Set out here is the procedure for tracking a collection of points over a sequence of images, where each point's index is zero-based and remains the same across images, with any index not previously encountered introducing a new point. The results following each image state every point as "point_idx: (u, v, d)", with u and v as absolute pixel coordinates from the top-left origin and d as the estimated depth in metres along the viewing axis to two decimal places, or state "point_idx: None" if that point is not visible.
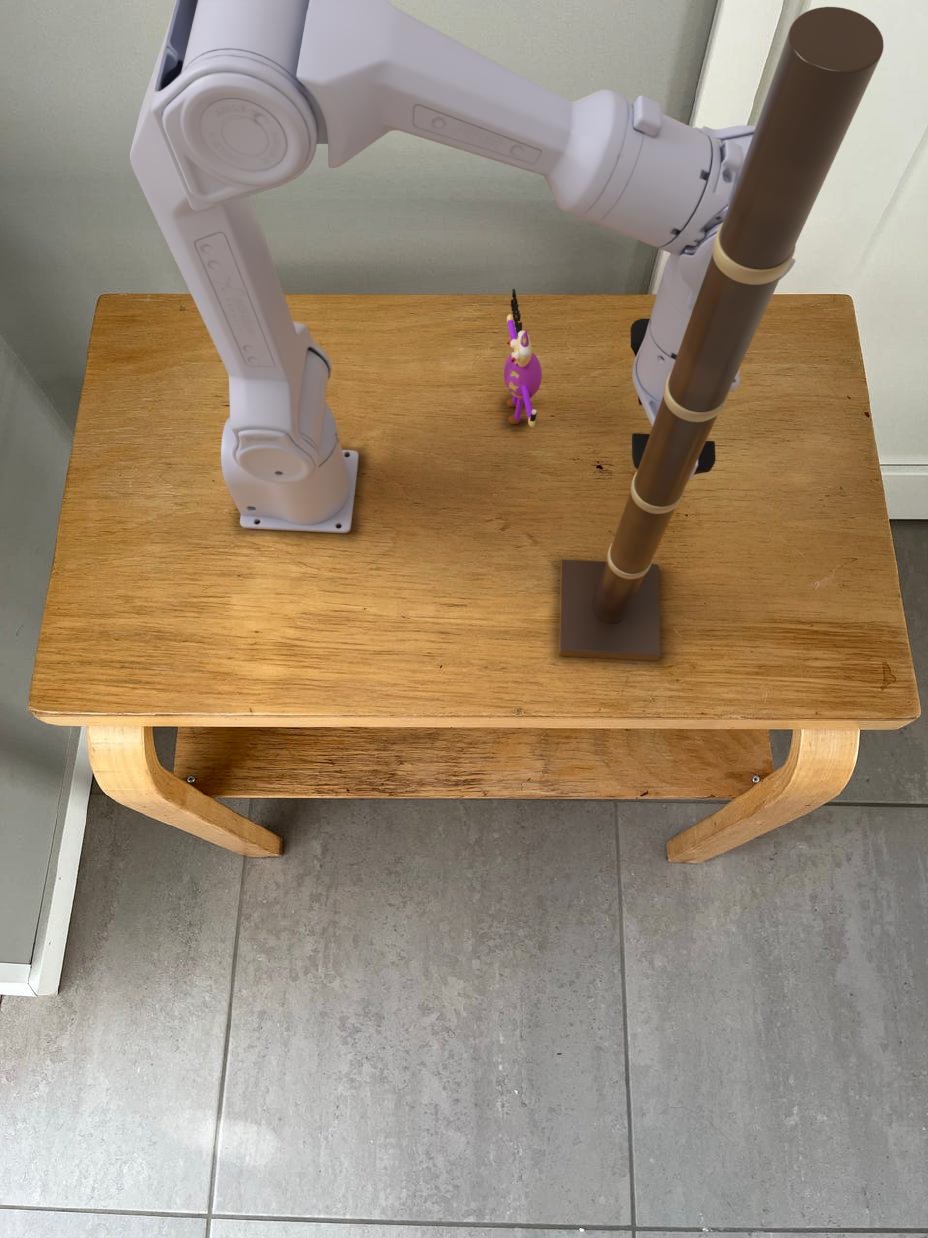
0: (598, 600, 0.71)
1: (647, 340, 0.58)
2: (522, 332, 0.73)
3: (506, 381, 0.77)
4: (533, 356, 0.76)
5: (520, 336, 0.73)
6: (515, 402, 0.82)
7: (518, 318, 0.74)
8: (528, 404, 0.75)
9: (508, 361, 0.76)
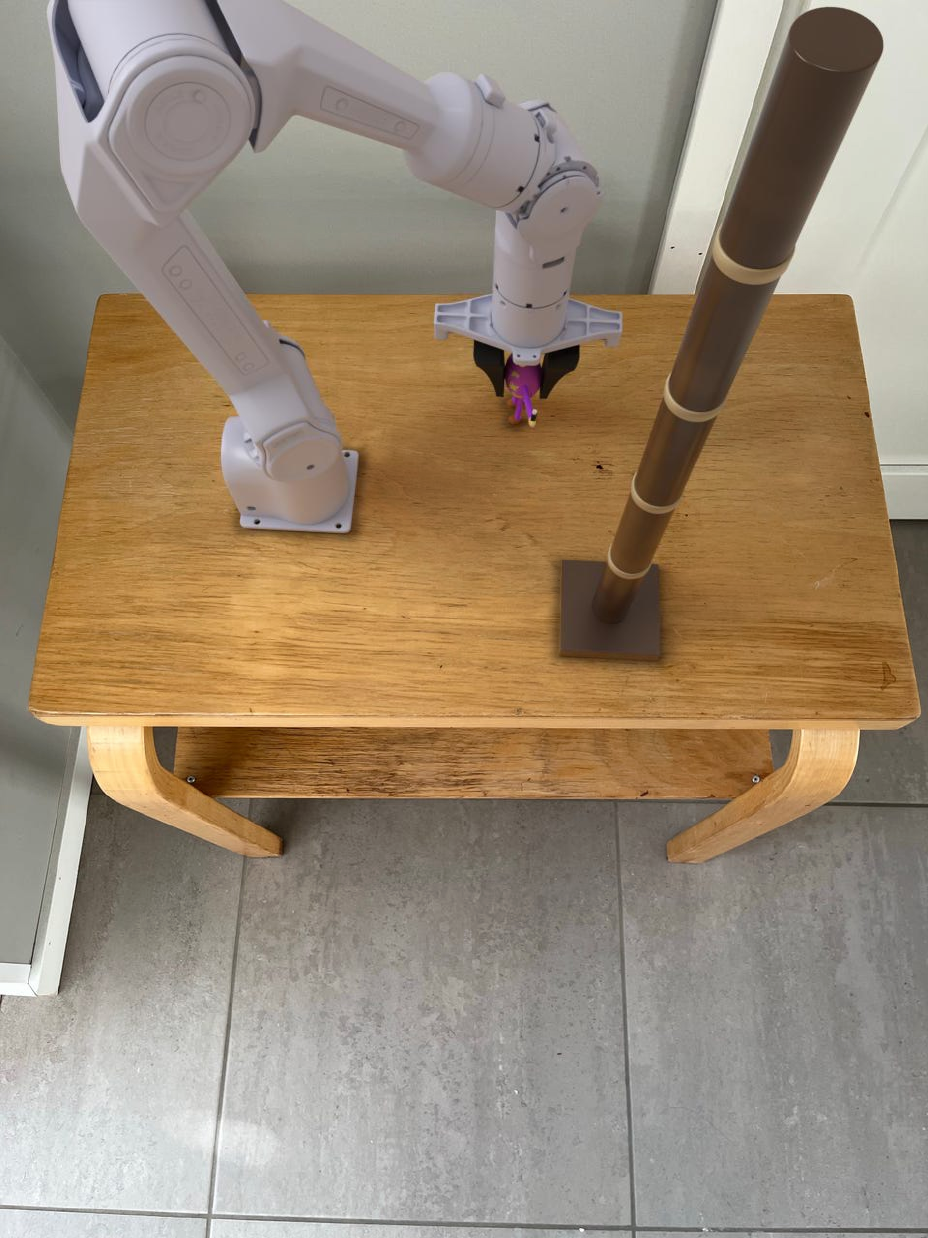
0: (598, 600, 0.71)
1: None
2: None
3: (506, 381, 0.77)
4: None
5: None
6: (515, 402, 0.82)
7: None
8: (528, 404, 0.75)
9: (509, 361, 0.76)
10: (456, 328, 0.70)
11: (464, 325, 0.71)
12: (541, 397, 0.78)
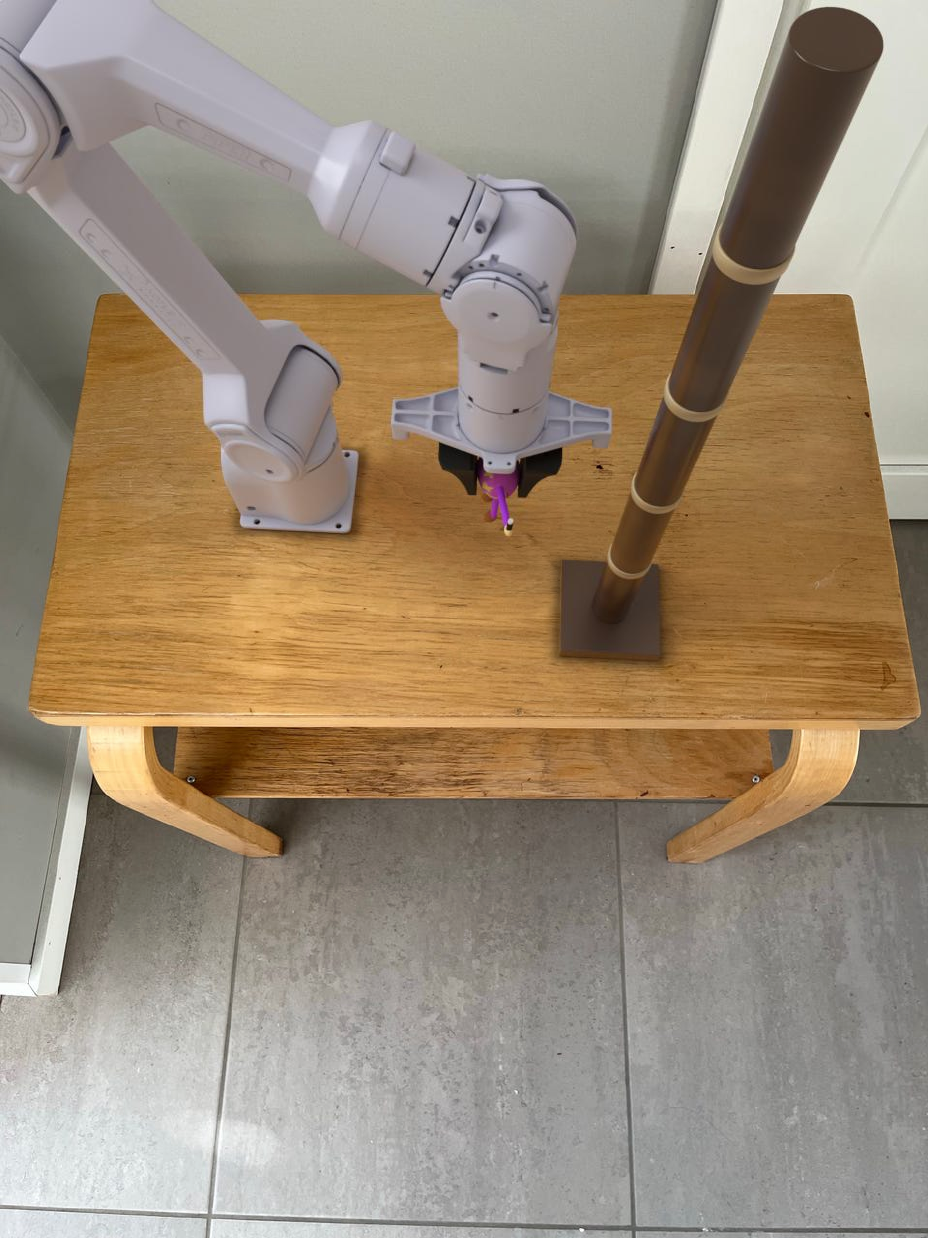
0: (598, 600, 0.71)
1: None
2: None
3: (479, 480, 0.66)
4: None
5: None
6: (491, 497, 0.72)
7: None
8: (504, 509, 0.65)
9: (481, 458, 0.66)
10: (417, 429, 0.60)
11: (427, 425, 0.60)
12: (520, 496, 0.68)
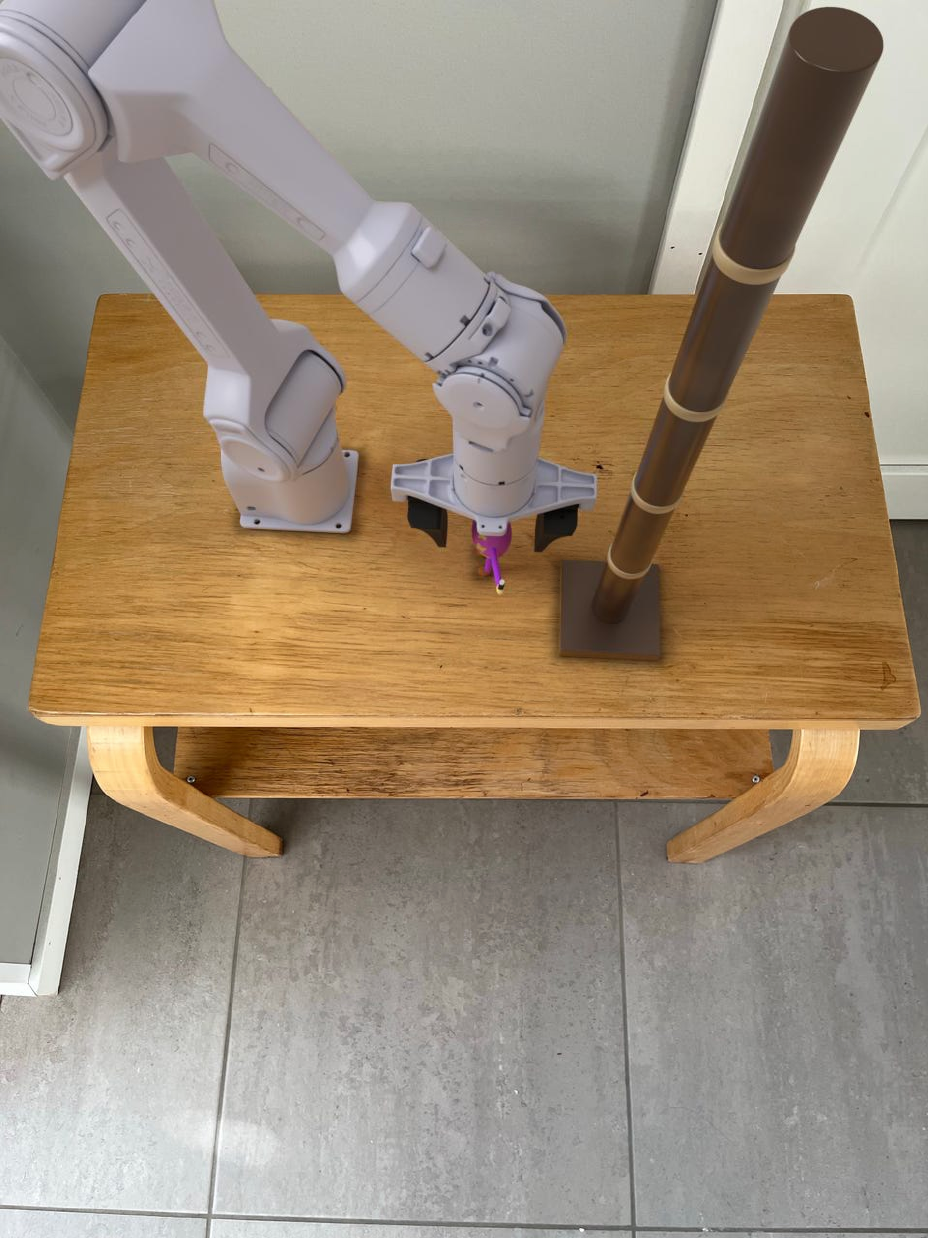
0: (598, 600, 0.71)
1: None
2: None
3: (473, 541, 0.72)
4: None
5: None
6: None
7: None
8: (496, 570, 0.70)
9: (475, 521, 0.71)
10: (415, 493, 0.64)
11: (424, 489, 0.65)
12: (536, 551, 0.72)
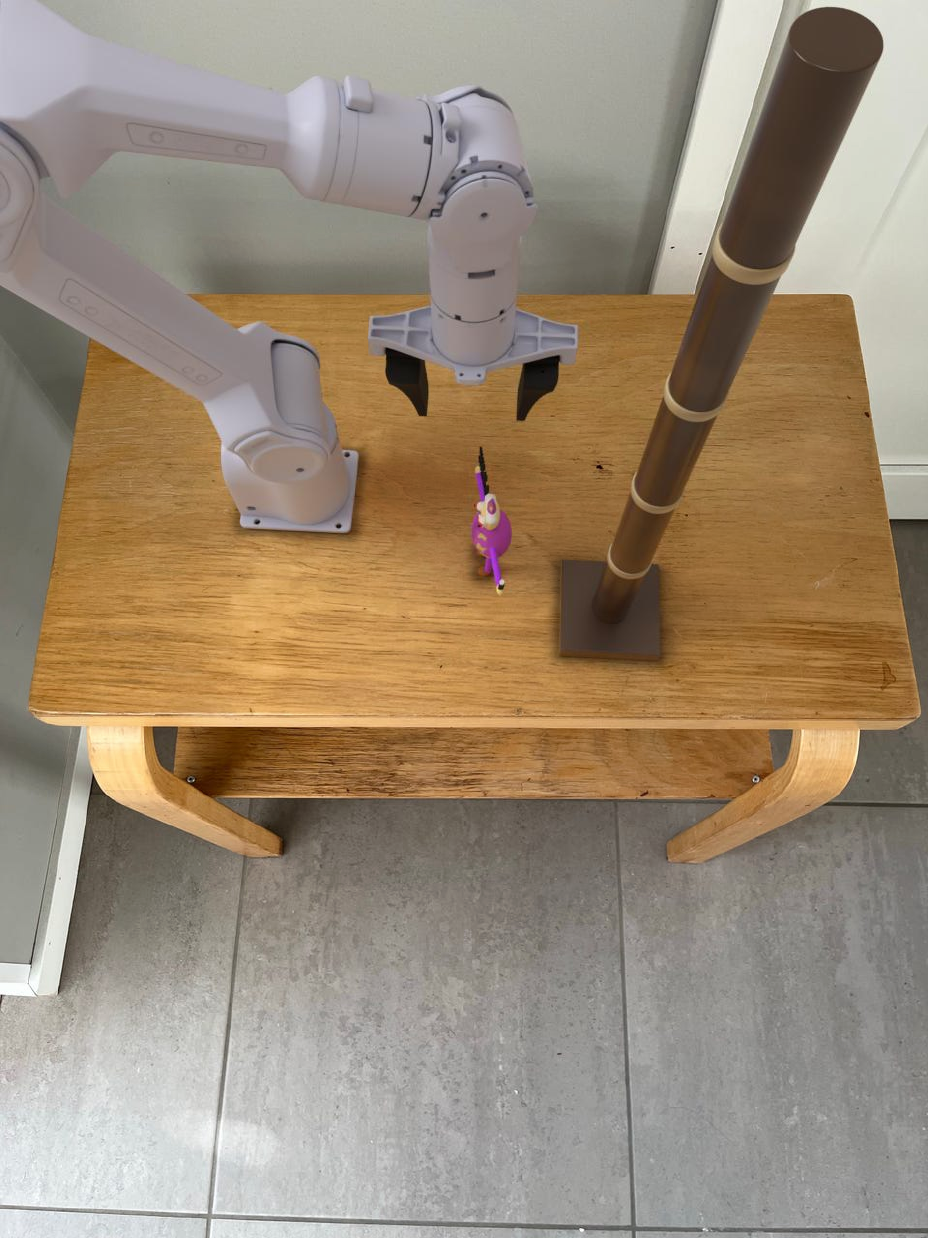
0: (598, 600, 0.71)
1: None
2: (489, 496, 0.68)
3: (473, 541, 0.72)
4: (502, 516, 0.70)
5: (487, 501, 0.68)
6: None
7: (485, 479, 0.69)
8: (496, 570, 0.70)
9: (475, 521, 0.71)
10: (393, 343, 0.63)
11: (402, 340, 0.64)
12: (518, 419, 0.71)
